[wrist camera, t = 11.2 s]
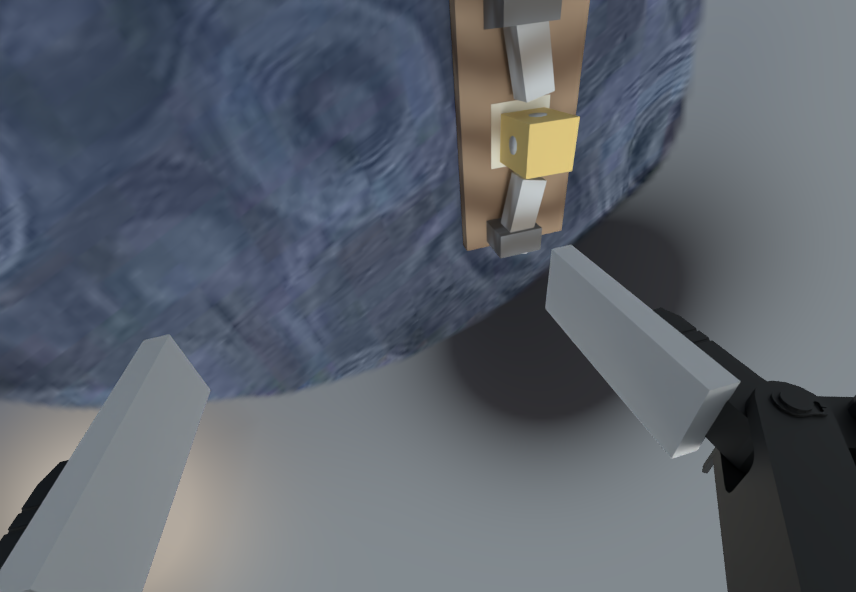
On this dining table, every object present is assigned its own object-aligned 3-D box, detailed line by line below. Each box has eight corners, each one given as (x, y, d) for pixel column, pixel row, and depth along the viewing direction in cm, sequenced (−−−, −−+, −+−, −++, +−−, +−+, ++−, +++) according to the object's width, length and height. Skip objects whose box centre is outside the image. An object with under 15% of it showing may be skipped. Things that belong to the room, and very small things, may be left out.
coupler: (500, 113, 34) (529, 124, 29) (545, 106, 34) (580, 115, 30) (499, 162, 37) (525, 180, 32) (540, 155, 37) (572, 171, 32)
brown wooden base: (448, -17, 29) (471, -29, 24) (583, -33, 30) (629, -47, 26) (463, 245, 43) (479, 268, 38) (555, 225, 44) (581, 245, 40)
